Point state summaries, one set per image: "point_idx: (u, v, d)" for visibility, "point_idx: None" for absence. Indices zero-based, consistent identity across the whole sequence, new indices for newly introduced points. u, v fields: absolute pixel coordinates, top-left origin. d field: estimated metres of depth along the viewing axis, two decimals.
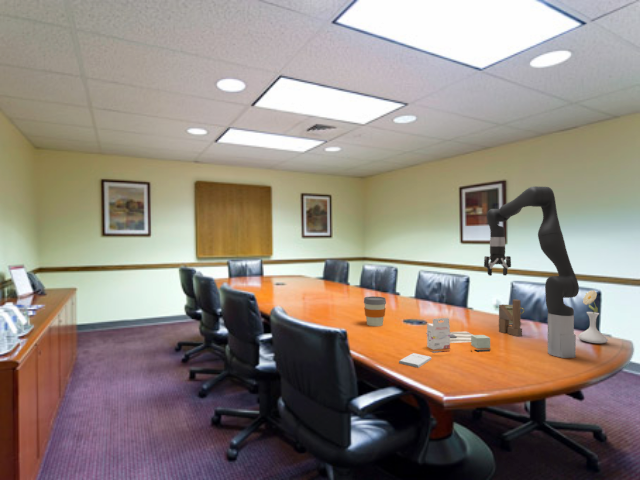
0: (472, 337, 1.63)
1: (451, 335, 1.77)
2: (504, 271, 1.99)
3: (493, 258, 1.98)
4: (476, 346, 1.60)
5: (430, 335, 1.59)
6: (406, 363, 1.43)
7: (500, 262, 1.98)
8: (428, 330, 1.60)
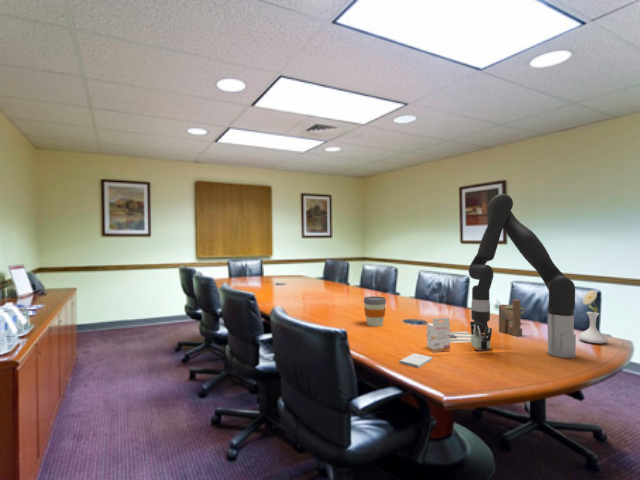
0: (472, 337, 1.63)
1: (451, 335, 1.77)
2: None
3: None
4: (476, 346, 1.60)
5: (430, 335, 1.59)
6: (406, 363, 1.43)
7: None
8: (428, 330, 1.60)
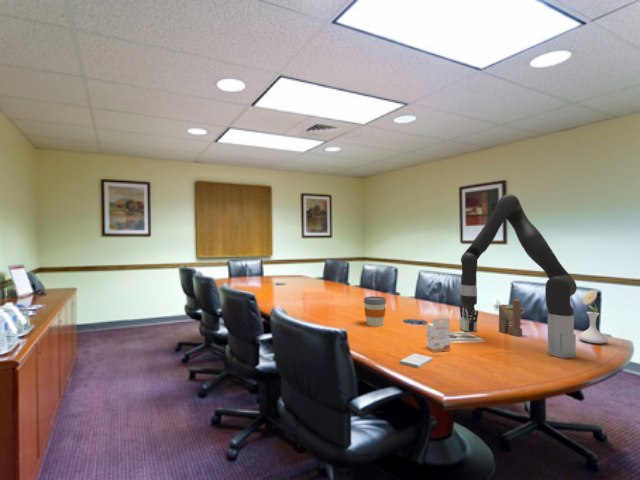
0: (461, 319, 1.79)
1: (451, 335, 1.77)
2: None
3: None
4: (464, 327, 1.76)
5: (430, 335, 1.59)
6: (406, 363, 1.43)
7: None
8: (428, 330, 1.60)
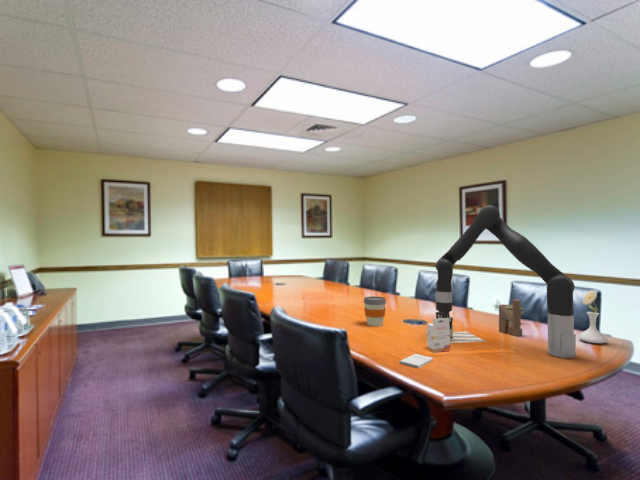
0: None
1: None
2: None
3: None
4: None
5: (430, 335, 1.59)
6: (406, 363, 1.42)
7: None
8: (428, 330, 1.60)
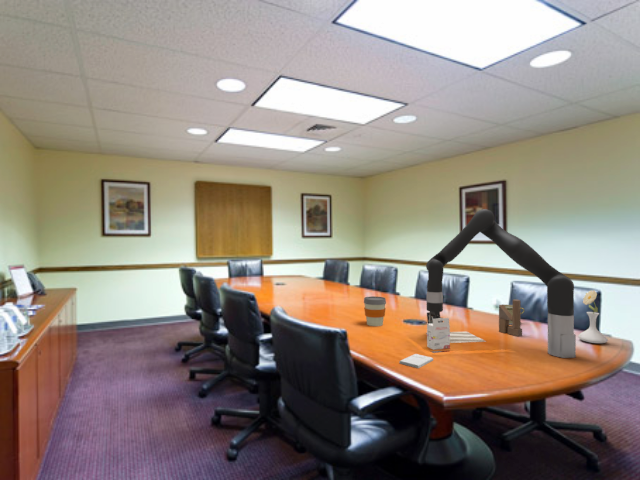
0: None
1: None
2: None
3: None
4: None
5: (430, 335, 1.59)
6: (406, 363, 1.42)
7: None
8: (428, 330, 1.60)
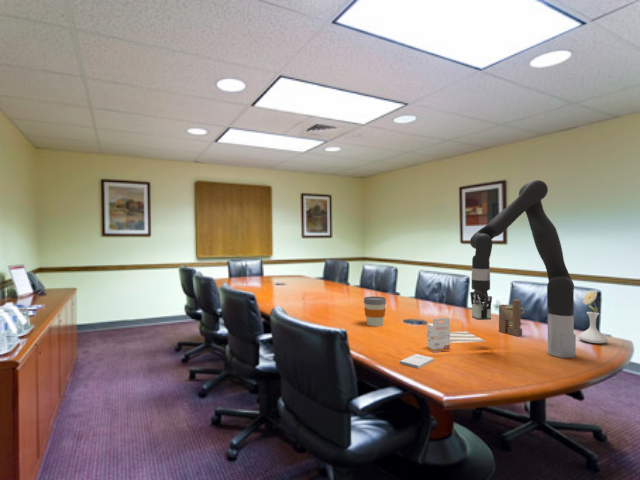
0: (473, 306, 1.63)
1: None
2: None
3: None
4: (477, 314, 1.60)
5: (430, 335, 1.59)
6: (406, 363, 1.42)
7: None
8: (428, 330, 1.60)
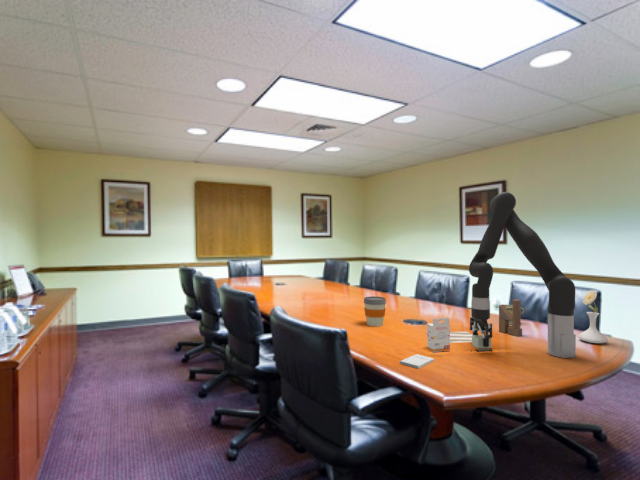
0: (473, 337, 1.63)
1: None
2: None
3: None
4: (477, 346, 1.60)
5: (430, 335, 1.59)
6: (406, 364, 1.42)
7: None
8: (428, 330, 1.60)
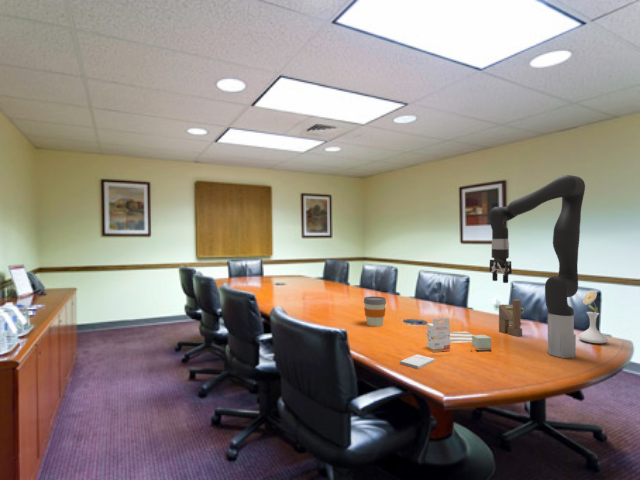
0: (473, 337, 1.63)
1: None
2: (495, 276, 1.81)
3: None
4: (477, 346, 1.60)
5: (430, 335, 1.59)
6: (406, 364, 1.42)
7: None
8: (428, 330, 1.60)
